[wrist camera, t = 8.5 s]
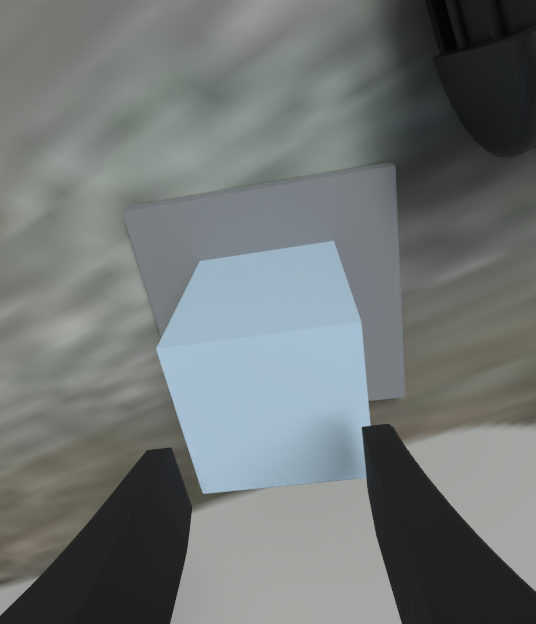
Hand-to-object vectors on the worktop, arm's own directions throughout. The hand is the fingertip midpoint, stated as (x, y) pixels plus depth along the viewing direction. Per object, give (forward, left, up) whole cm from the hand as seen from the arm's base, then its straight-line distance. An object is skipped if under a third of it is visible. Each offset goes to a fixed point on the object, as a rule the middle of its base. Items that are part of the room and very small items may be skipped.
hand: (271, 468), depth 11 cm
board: (0, 0, -9) cm, 9 cm away
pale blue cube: (0, 0, -8) cm, 8 cm away
